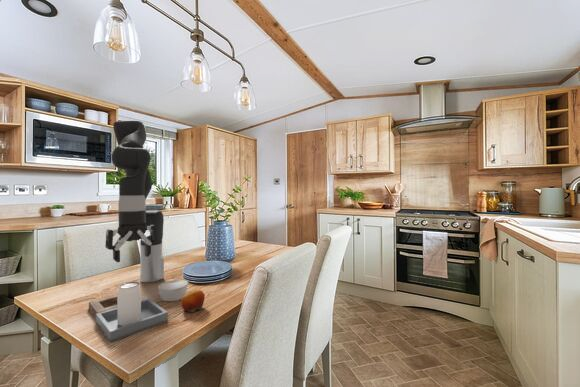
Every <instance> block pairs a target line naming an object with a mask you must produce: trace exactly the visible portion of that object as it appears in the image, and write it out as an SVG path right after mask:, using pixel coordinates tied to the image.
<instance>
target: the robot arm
mask: <svg viewBox="0 0 580 387" xmlns="http://www.w3.org/2000/svg"><path fill="white" fill-rule="evenodd" d="M112 127H113V131H114V132H113V133H114V136H115V139H116V142H117V146H115V148H114V149H113V151H112V153H111V162H112V164H113V165H114V166H115V168H117V169H119V170H124V171H125V175H126V176H125V177H124V176H123V177H121V178H120V179H119V181H118V189H119V190H118V192H119V193H118V194H119V196H118V204H117V205H118V206H117V207H118V227H117V229H110V228H108V229H106V234H105V249H107V250H111V251H112V259H113V261H115V263H121V250H120V248H121V247H122V246H123V245H124V244H125V243H126V242H132V241H139V242H140V249H139V250H140V251H139V252H140V255H139V256H140V262H139V263H140V265H139V266H140V271H139V272H140V282H141V283H154V282H158V281H160V280H162V279H164V278H165V277H164V276H165V266H164V265H165V259H164V258H163V236H164V221H165V220H164V213H163V212H162V211H161V210H147V205H146V204H147V203H146V200H147V198H148V196H149V194H150V192H151V190H152V188H153V181H152V176H151V172H150V169H149V167H150V163H151V160H152V159H151V154H150V152H149V151H148V150H147V149H145V148H144V145H145V144H146V140H147V132H146V131H147V130H146V128H145V124H144V123H143V122H142V121H141V120H136V119H135V120H117V121H114V122H113V126H112ZM147 231H148V232H149V235H147V236H146V235H145V234H146V232H147ZM116 234H118V235H119V237H118V238H117V240H116V242H115V243H113V242H114V237H115V236H116Z"/></svg>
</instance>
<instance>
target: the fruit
mask: <svg viewBox="0 0 580 387" xmlns="http://www.w3.org/2000/svg"><path fill="white" fill-rule="evenodd" d="M205 296H206V295H205V292H204V291H203V290H201V289H191V290H190V291H189V292H188V291H187V292H186V294H185V295H184V296H183V297H182V299H180V304H181V308H182V309H183V311H185V312H188V313H190V312H191V313H195V312H196V310H199V309H203V310H204V308H203V306H204V304H205V303H204V302H205V299H206V298H205Z"/></svg>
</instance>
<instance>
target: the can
mask: <svg viewBox="0 0 580 387" xmlns="http://www.w3.org/2000/svg"><path fill="white" fill-rule="evenodd" d="M116 295H117V304H116V305H117V319H118V325H120V326H124V325H127V324H130V323H133V322H136V321H139V320H140V319H141V301H142V287H141V285H140V282H139V281H128V282H124V283H121V284H119V285H118V289H117V294H116Z"/></svg>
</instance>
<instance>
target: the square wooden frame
mask: <svg viewBox="0 0 580 387" xmlns="http://www.w3.org/2000/svg"><path fill="white" fill-rule="evenodd" d="M114 308H117V294H114V295H110V296H106V297H102V298H99V299H96V300H90V301H88V309H89V311H90V312H91V314H92V315H93V316H94V318H96V314H97V313H101V312H104V311H108V310H111V309H114Z"/></svg>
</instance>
